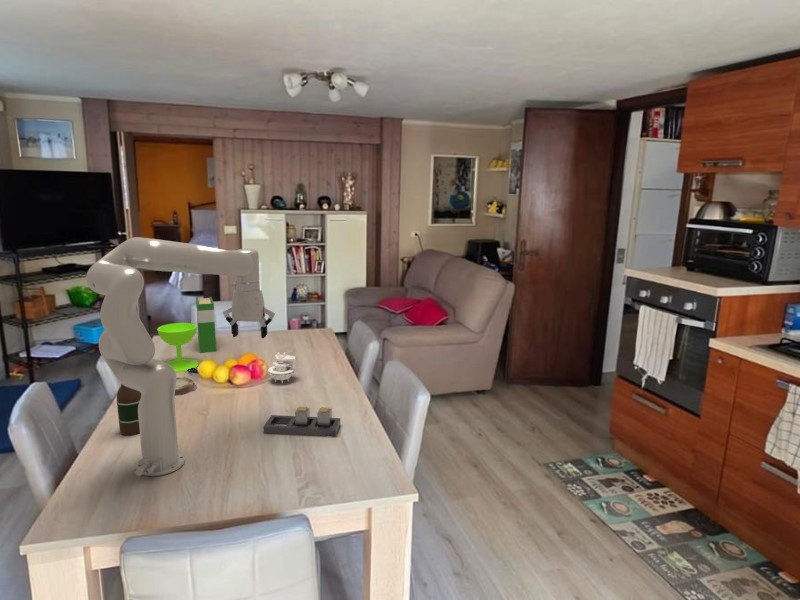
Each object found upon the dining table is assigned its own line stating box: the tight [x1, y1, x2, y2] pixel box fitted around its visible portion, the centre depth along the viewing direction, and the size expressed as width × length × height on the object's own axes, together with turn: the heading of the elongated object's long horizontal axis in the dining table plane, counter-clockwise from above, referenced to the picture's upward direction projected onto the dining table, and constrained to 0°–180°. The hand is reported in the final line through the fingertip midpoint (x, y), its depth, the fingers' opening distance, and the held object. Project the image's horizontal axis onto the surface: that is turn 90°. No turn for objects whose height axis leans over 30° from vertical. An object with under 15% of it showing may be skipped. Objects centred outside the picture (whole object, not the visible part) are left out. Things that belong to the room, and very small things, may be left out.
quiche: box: [175, 376, 198, 397], centre depth 207 cm, size 21×20×4 cm
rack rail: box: [263, 414, 341, 438], centre depth 175 cm, size 24×9×2 cm, turn 87°
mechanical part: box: [267, 352, 297, 384], centre depth 217 cm, size 11×12×12 cm
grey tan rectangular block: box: [316, 407, 333, 428], centre depth 174 cm, size 4×4×8 cm
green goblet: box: [156, 322, 200, 374], centre depth 231 cm, size 16×16×18 cm
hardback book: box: [195, 296, 217, 354], centre depth 258 cm, size 18×7×24 cm, turn 23°
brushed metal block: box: [294, 406, 311, 427], centre depth 174 cm, size 4×4×8 cm
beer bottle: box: [116, 383, 141, 436], centre depth 169 cm, size 8×8×24 cm
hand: (249, 336), depth 175 cm, fingers open, 9 cm apart
